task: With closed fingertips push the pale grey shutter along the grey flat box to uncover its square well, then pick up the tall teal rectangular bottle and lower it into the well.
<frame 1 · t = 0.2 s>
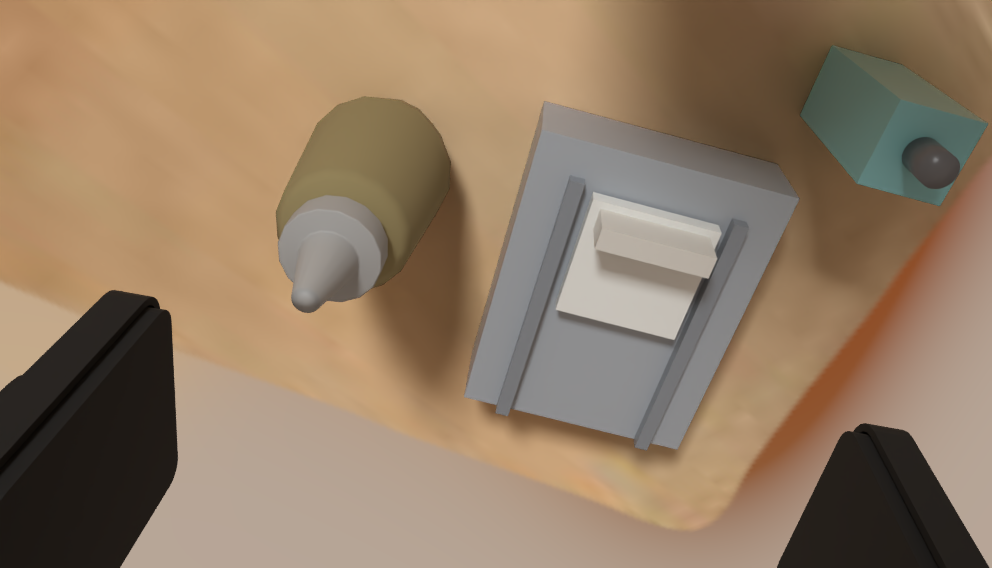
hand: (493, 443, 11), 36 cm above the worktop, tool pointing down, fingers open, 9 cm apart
shutter: (636, 279, 42), point 7 cm above the worktop, slide at 0.0 cm
grey flat box: (612, 265, 50), on the worktop
squeeze bottle: (392, 144, 47), on the worktop
teal rectangular bottle: (849, 90, 43), on the worktop
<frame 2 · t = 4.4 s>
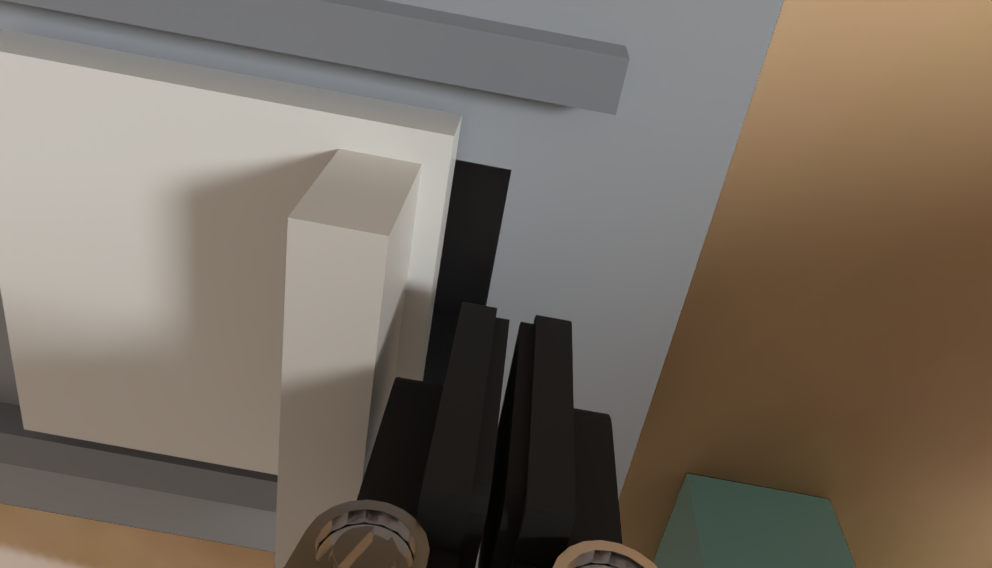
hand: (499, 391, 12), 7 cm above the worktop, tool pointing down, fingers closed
shutter: (192, 324, 12), point 7 cm above the worktop, slide at 1.7 cm, touching gripper
grey flat box: (260, 155, 18), on the worktop
teal rectangular bottle: (735, 537, 23), on the worktop
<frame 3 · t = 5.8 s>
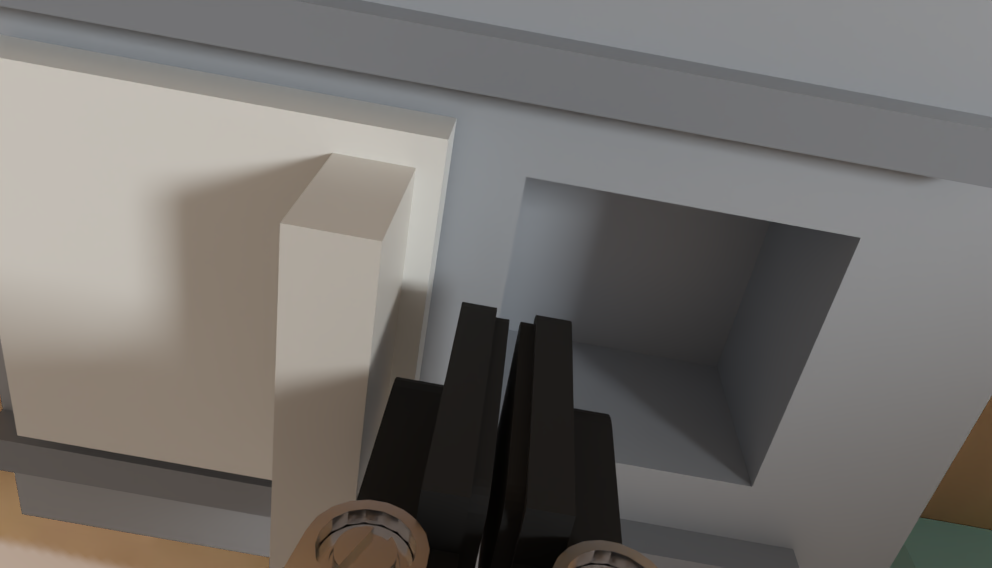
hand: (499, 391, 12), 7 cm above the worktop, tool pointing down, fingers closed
shutter: (186, 330, 12), point 7 cm above the worktop, slide at 7.4 cm, touching gripper
grey flat box: (501, 203, 18), on the worktop
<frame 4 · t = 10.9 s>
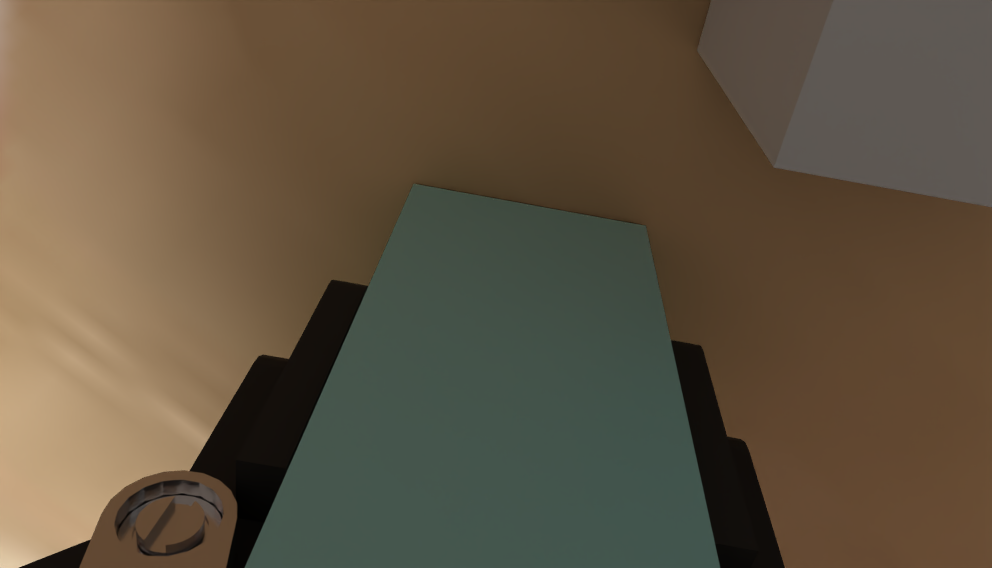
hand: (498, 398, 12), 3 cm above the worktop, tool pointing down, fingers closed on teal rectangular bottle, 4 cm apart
teal rectangular bottle: (509, 304, 14), on the worktop, touching gripper
when the fingers open (6 cm above the worktop, at t = 16.6 s): teal rectangular bottle drops 2 cm, resting on grey flat box.
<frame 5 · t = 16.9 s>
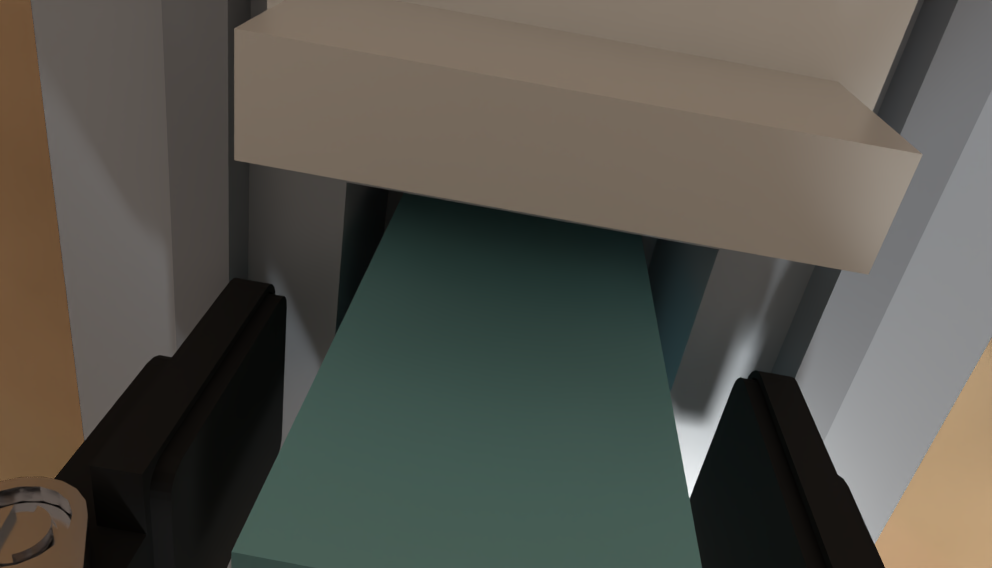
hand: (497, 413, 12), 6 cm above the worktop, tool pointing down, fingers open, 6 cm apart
grey flat box: (544, 97, 16), on the worktop
teal rectangular bottle: (510, 256, 16), point 1 cm above the worktop, touching grey flat box
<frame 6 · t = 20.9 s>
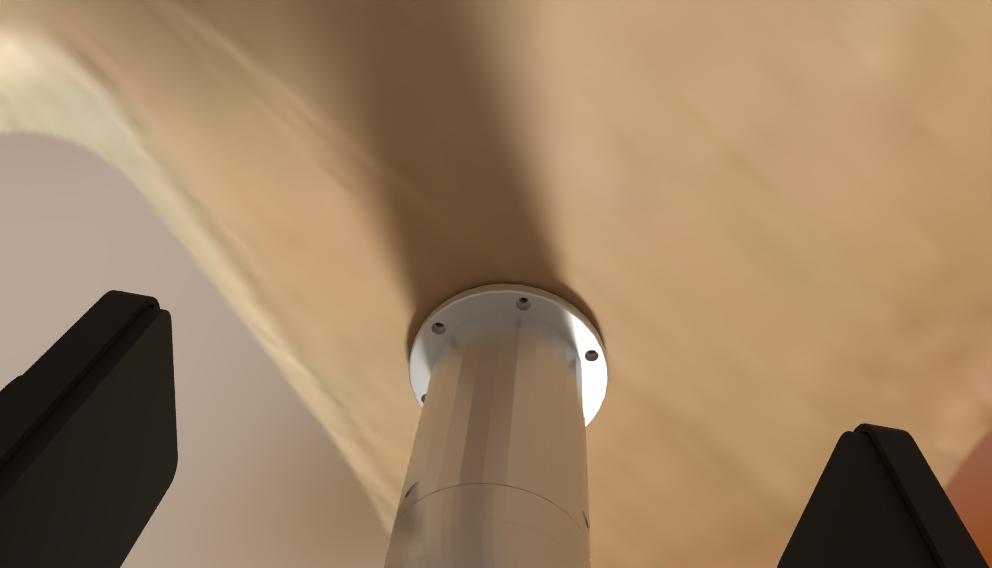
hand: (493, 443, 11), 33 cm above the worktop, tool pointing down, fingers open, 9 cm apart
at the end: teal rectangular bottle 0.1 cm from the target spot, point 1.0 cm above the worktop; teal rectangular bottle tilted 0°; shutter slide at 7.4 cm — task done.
